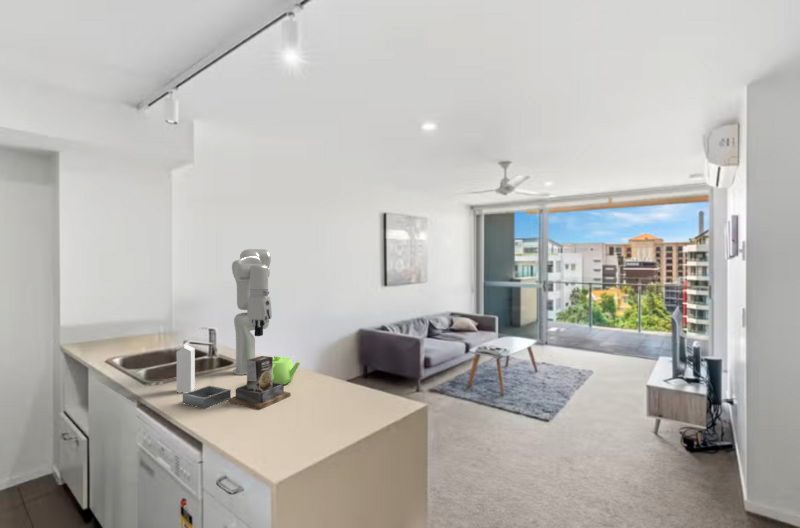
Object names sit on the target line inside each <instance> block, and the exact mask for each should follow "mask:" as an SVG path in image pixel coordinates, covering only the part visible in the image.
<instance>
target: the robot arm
mask: <svg viewBox="0 0 800 528" xmlns="http://www.w3.org/2000/svg"><path fill="white" fill-rule="evenodd" d="M271 259H272V258H271V254H270V251H268V249H263V248H260V249H259V248H248V249H244V250H242V251H241V253H240V254H239V259H237V260H234V261H233V262H232V264H231V270H232V271H231V272H232V275H233V278H234V280H235V283H236V306H237V308H238V310H240V311H246V312H241V313H238V314H236V315H235V316H234V319H233V322H234V329H235V368H234V369H233V370H232V374H233V375H237V376H243V375H244V376H247V360H249V359H253V358H256V337H262V336H263V335H264V330H265V329H267V328H269V325H270V320H271V319H272V312H273V311H272V302H271V297H270V296H269V294H270V291H269V277H270V273H271V272H270V268H269V267H270V265H271V262H272V261H271ZM251 331H254V335H253V333H251Z"/></svg>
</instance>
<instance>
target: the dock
mask: <svg viewBox="0 0 800 528" xmlns="http://www.w3.org/2000/svg"><path fill="white" fill-rule="evenodd" d="M284 385H285V384H281V383H276V382H272V388H271V389H268V390H266V391H263V392H261V393H260V392H255V391H250V390H247V384H245V385H242V386H241V385H240V386H239V387H236V388H235V396H231V398H229V399H228V400H227V403H228V402H230V403H229V404H233V403H234V404H233V405H237V404H239V405H238V406H242V405H243V406H242V407H246V406H247V408H252V409H257V410H262V409H265V408H267V407H270V406H271V405H274V404H276V403H278V402H280V401H282V400H285V399H287V398H290V397H291V396H292V394H291V392H289V391H284V390H285V389H284V388H285V387H284Z"/></svg>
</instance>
